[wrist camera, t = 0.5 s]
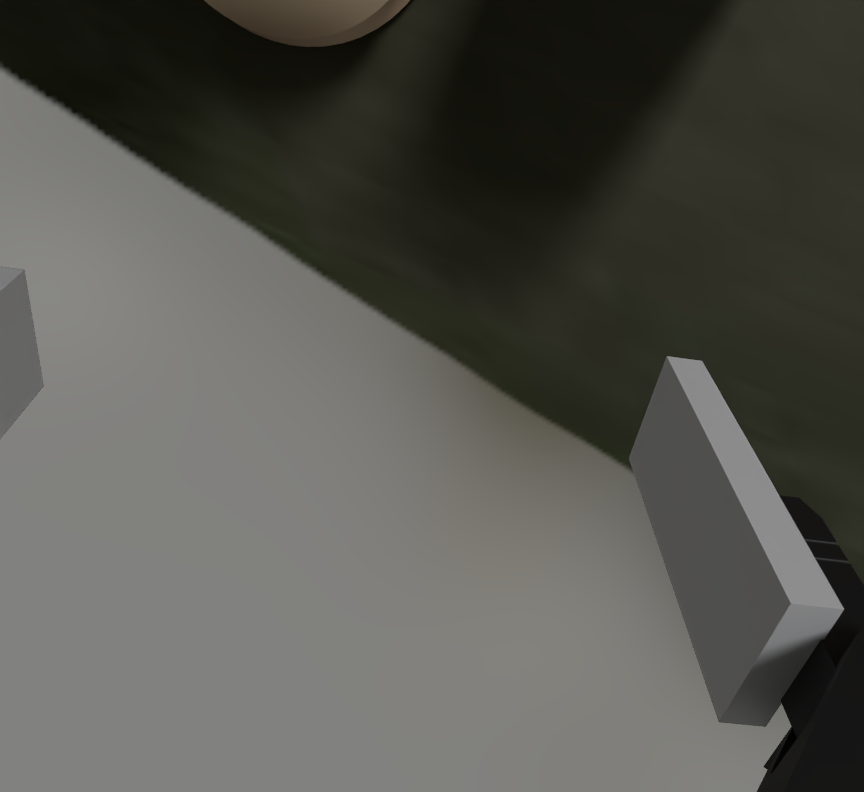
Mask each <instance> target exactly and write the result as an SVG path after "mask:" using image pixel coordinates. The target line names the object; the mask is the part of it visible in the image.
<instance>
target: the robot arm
mask: <svg viewBox="0 0 864 792" xmlns="http://www.w3.org/2000/svg"><path fill="white" fill-rule="evenodd" d="M43 386H44V385H43V379H42V374H41V367H40V361H39V355H38V349H37V343H36V337H35V331H34V325H33V319H32V313H31V307H30V301H29V295H28V289H27V283H26V277H25V271H24V270H22V269H15V268H7V267H0V439H1V438H2V436H3V435H4V434H5V433H6V432H7V430H8V429H9V428H10V427H11V425H12V424H13V423H14V422H15V421H16V419H17V418H18V417H19V416H20V414H21V413H22V412H23V411H24V410H25V408H26V407H27V406H28V405H29V403H30V402H31V401H32V400H33V398H34V397H35V396H36V395H37V394H38V392H39V391H40V390H41V389H42V388H43ZM629 460H630V463H631V466H632V469H633V472H634V475H635V478H636V481H637V484H638V487H639V489H640V492H641V495H642V498H643V501H644V504H645V507H646V510H647V513H648V516H649V519H650V522H651V524H652V528H653V531H654V534H655V536H656V539H657V542H658V545H659V548H660V551H661V554H662V557H663V559H664V563H665V566H666V569H667V572H668V575H669V577H670V580H671V583H672V586H673V589H674V592H675V595H676V598H677V601H678V604H679V607H680V609H681V612H682V616H683V618H684V621H685V624H686V627H687V630H688V633H689V636H690V639H691V642H692V645H693V648H694V650H695V654H696V656H697V660H698V662H699V665H700V668H701V671H702V674H703V677H704V680H705V683H706V686H707V689H708V692H709V695H710V697H711V701H712V703H713V706H714V709H715V712H716V715H717V718H718V721H719V722H724V723H734V724H745V725H754V726H764V727H765V726H767V724H768V722H769V721H770V720H771V718H772V716H773V715H774V713H775V712H776V710H777V709H778V708H779V706H780V705H781V703H782V705H783V707H784V709H785V712H786V714H787V717H788V719H789V721H790V723H791V726H792V727H791V728H790V730H789V731H788V733H787V734H786V735H785V737H784V738H783V740H782V741H781V743H780V744H779V745H778V747H777V748H776V750H775V751H774V753H773V754H772V755H771V757H770V758H769V760H768V761H767V762H766V764H765V765H764V767H765V768H766V769H768V770H767V772H766V774H765V777H764V778H763V781H762V783H761V785H760V786H759V788H758V791H757V792H864V585H863V584H862V582H861V580H860V579H859V577H858V576H857V574H856V572H855V571H854V569H853V568H852V566H851V564H847V560H848V559H847V558H846V556H845V555H844V553H843V551H842V550H841V548H840V547H839V546H837V545H836V540H835V539H834V537H833V535H832V534H831V532H830V531H829V529H828V527H827V526H826V524H825V523H824V521H823V519H822V518H821V517H820V516H819V515H817V514H816V513H815V512H814V511H813V510H812V509H811V508H810V507H809V506H808V505H806V504H805V503H804V502H803V501H802V500H801V499H800V498H797V497H788V496H780V495H778V493H777V491H776V489H775V488H774V486H773V484H772V482H771V481H770V479H769V477H768V475H767V474H766V472H765V470H764V468H763V467H762V465H761V463H760V461H759V460H758V458H757V456H756V454H755V453H754V451H753V449H752V447H751V446H750V444H749V442H748V440H747V439H746V437H745V435H744V434H743V432H742V430H741V428H740V427H739V425H738V423H737V421H736V420H735V418H734V416H733V414H732V413H731V411H730V409H729V407H728V406H727V404H726V402H725V400H724V399H723V397H722V395H721V393H720V392H719V390H718V388H717V386H716V385H715V383H714V381H713V379H712V378H711V376H710V374H709V372H708V371H707V369H706V367H705V365H704V364H703V362H702V361H698V360H691V359H683V358H676V357H668V356H667V357H666V360H665V363H664V365H663V368H662V371H661V373H660V376H659V379H658V381H657V384H656V387H655V390H654V392H653V395H652V398H651V400H650V403H649V406H648V408H647V411H646V414H645V416H644V419H643V422H642V424H641V427H640V430H639V433H638V435H637V438H636V441H635V443H634V446H633V449H632V451H631V454H630V457H629Z"/></svg>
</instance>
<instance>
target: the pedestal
mask: <svg viewBox="0 0 864 792" xmlns="http://www.w3.org/2000/svg"><path fill="white" fill-rule="evenodd" d="M204 1H205V2H206V3H208V4H209V5H210V6H211V7H213V8H214V9H215V10H217V11H218V12H220V13H221V14H222V15H224V16H225V17H227V18H229V19H230V20H232V21H233V22H235V23H236V24H238V25H239V26H241V27H243V28H245V29H247V30H248V31H250V32H252V33H254V34H256V35H259V36H261V37H264V38H266V39H269V40H272V41H276V42H280V43H284V44H287V45H294V46H303V47H322V46H330V45H336V44H341V43H345V42H348V41H351V40H354V39H357V38H360V37H362V36H364V35H366V34H368V33H370V32H372V31H374V30H376V29H378V28H379V27H380V26H382V25H383V24H385V23H386V22H387V21H389V20H390V19H392V18H393V17H394V16H395V15H396V14H397V13H398V12H399V11H400V10H401V9H402V8H404V7H405V6H406V5H407V3H408V2H409V1H410V0H204Z"/></svg>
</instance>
